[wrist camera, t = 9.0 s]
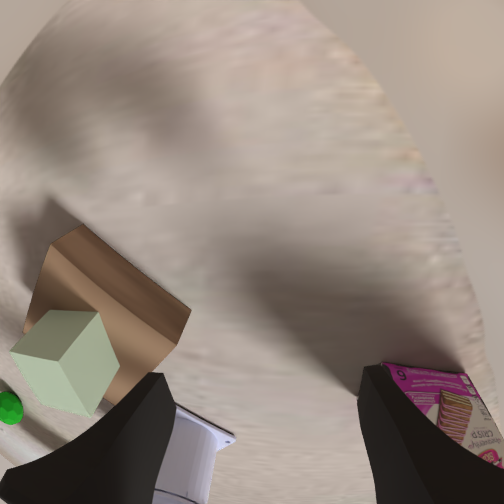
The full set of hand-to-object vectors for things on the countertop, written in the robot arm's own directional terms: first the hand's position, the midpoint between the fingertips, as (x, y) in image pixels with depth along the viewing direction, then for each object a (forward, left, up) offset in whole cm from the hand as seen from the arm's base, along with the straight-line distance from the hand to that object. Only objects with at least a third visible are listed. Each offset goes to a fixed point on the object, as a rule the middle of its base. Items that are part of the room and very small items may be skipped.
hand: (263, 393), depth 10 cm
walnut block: (-11, +7, -10) cm, 17 cm away
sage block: (-11, +7, -6) cm, 14 cm away
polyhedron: (-40, +13, -11) cm, 43 cm away
